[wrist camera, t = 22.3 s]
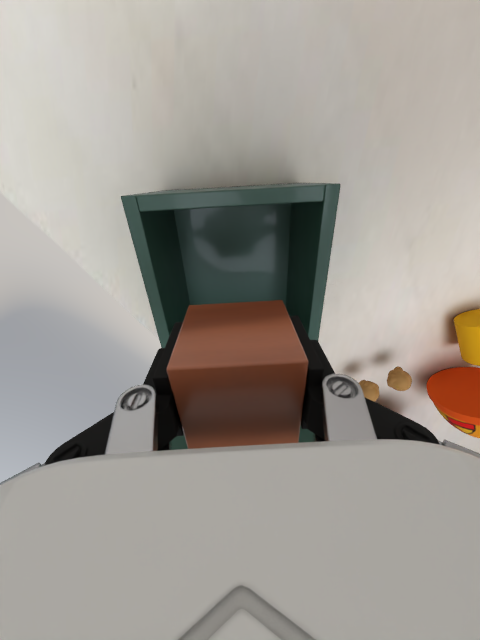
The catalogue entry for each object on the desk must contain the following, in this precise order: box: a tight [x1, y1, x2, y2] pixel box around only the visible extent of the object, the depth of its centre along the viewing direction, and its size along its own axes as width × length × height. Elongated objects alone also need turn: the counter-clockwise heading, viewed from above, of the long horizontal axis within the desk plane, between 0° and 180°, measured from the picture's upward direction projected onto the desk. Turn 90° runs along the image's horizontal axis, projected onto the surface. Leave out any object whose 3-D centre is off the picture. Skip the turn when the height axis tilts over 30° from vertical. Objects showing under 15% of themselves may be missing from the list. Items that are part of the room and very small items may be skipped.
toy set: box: [359, 309, 480, 438], centre depth 29 cm, size 25×11×19 cm
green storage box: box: [121, 183, 340, 348], centre depth 20 cm, size 14×12×9 cm
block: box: [166, 300, 309, 449], centre depth 10 cm, size 4×4×4 cm
